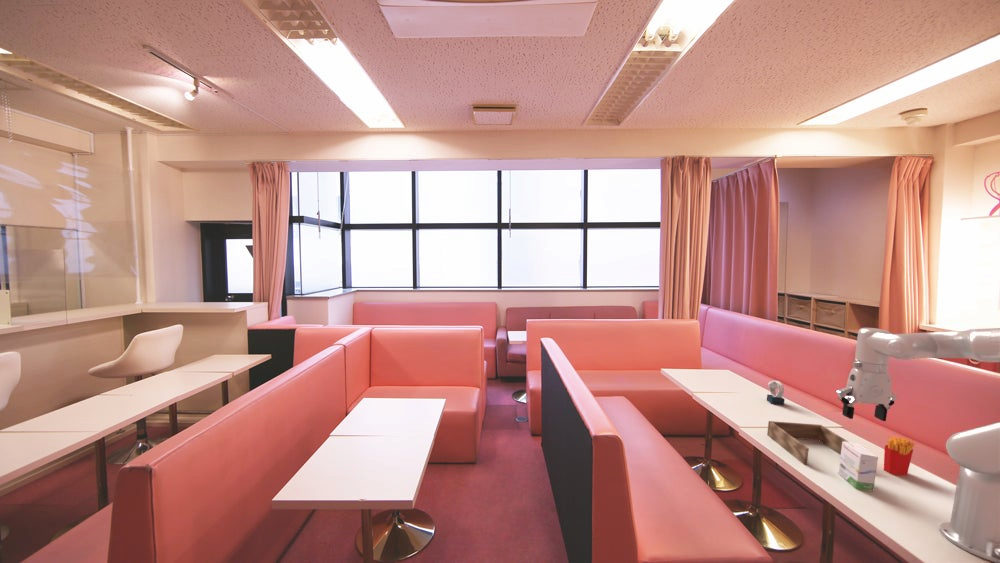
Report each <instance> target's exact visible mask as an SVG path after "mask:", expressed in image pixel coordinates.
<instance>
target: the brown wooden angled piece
mask: <svg viewBox="0 0 1000 563" xmlns="http://www.w3.org/2000/svg"><path fill="white" fill-rule="evenodd" d="M767 425H768V426H767V434H766V436H768V437H769V438H770V439H771V440H772V441H774V442H775V443H776V444H778V445H779V446H781V447H782V448H783V449H784V450H785V451H786V452H787V453H789V454H790V455H791V456H793V457H794V458H795V459H796V460H798V462H800V463H801V464H803V465H808V458H809V449H810V448H808V447H807V446H806V445H805V444H803V443H801V442H800V441H799V440H797V439H800V440H801V439H802V440H813V441H815V440H816V441H819V440H820V441H819V442H821V443H822V442H823V443H822V444H824V445H825V446H827V447H828V448H830V449H831V450H833V451H834V452H836V453H837V454H839V455H840V456H841V449H842V442H844V441H845V442H849V441H848V440H847V439H845V438H843V437H841V436H840V435H838V434H836V433H835V432H834V431H831V430H830V429H829V428H828V427H825V426H824V425H822V424H814V423H800V422H786V421H774V420H773V421H772V420H771V421H770V420H769V421H768V424H767Z"/></svg>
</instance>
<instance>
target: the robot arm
mask: <svg viewBox="0 0 1000 563" xmlns="http://www.w3.org/2000/svg"><path fill="white" fill-rule="evenodd" d="M857 332H858V333H857V340H856V345H855V346H856V348H855V354H854V361H852V362H851V364H850V365H851V367H853V368H851V370H850V372H849V375H848V378H847V381H846V386H845V387H844V388H841V389H838V390H836V394H837V398H838V399H839V400H840V401H841V403H842V404H843V406H842V413H841V414H842V416H844V417H846V418H848V419H850V420H853V419H854V413H855V404H856V403H859V404H871V405H872V404H873V405H875V407H874V414H873V415H874V417H875V419H878V420H880V421H882V422H887V415H888V410H890V409H891V407H892V406H893V405H894V404H895V401H897V400H898V397H899V396H898V395H897V394H895V393H894V392H892V378H891V374H890V373H889V372H888V370H889V362H890V358H893V359H896V360H901V361H902V360H903V361H909V360H911V361H912V360H918V359H930V358H931V359H934V358H935V359H936V358H937V359H939V358H940V359H941V358H942V359H970V360H975V361H978V362H982V363H983V362H984V363H1000V327H994V328H993V327H989V328H973V329H967V330H960V331H938V332H935V331H933V332H909V333H908V332H907V333H891V331H889V330H887V329H882V328H877V327H876V328H875V327H861V328H859V330H858V331H857ZM945 449H946V452H947V455H948V456H949V457H950V459H952V461H954V463H956V464H957V465H959V466H960V467H959V470H958V471H959V472H958V476H957V479H956V487H955V492H954V498H953V504H952V509H951V515H950V521H949V522H942V523H941V524H939V531H940V532H941V534H942V535H943V537H945V538H946V539H947V540H949V541H950V542H951V543H952V544H954V545H956V546H957V547H959V548H960V549H962V550H964V551H966V552H967V553H968V552H969V553H970V554H972V555H975V556H977V557H979V558H982V559H984V560H986V561H991V562H993V563H1000V421H999V422H993V423H990V424H987V425H983V426H980V427H976V428H975V427H974V428H972V429H967V430H964V431H960V432H955V433H953V434H951V435H950V437H948V438H947V440H946V443H945Z"/></svg>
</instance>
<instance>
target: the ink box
mask: <svg viewBox="0 0 1000 563" xmlns="http://www.w3.org/2000/svg"><path fill="white" fill-rule="evenodd" d="M878 460H879V457H878V456H877V455H875V454H874V453H872V452H871V451H870V450H868V449H867V448H865V447H864V446H863V445H861V444H860V443H858V442H857V443H856V442H850V441H848V442H845V441H844V442H842V449H841V455H840V457H839V464H838V471H837V473H838V475H839V476H840V477H842V478H843V479H844V480H846V481H847V482H848V483H849V484H850V485H851V486H853V487H854V489H856V490H860V491H869V492H874V489H875V481H876V474H877V467H878Z"/></svg>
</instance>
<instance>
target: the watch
mask: <svg viewBox="0 0 1000 563" xmlns="http://www.w3.org/2000/svg"><path fill="white" fill-rule="evenodd" d="M767 385H768V390H769V392H770V394H767V396H766V402H768V403H769V404H772V405H779V406H784V405H785V400H786V399H785V398H784V397H783V395H784V393H785V392H784V391H785V389H784V385H783V383H782V382H781V381H779V380H771V381H769V382H768V383H767ZM777 389H778V391H777V392H776V390H777Z"/></svg>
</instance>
